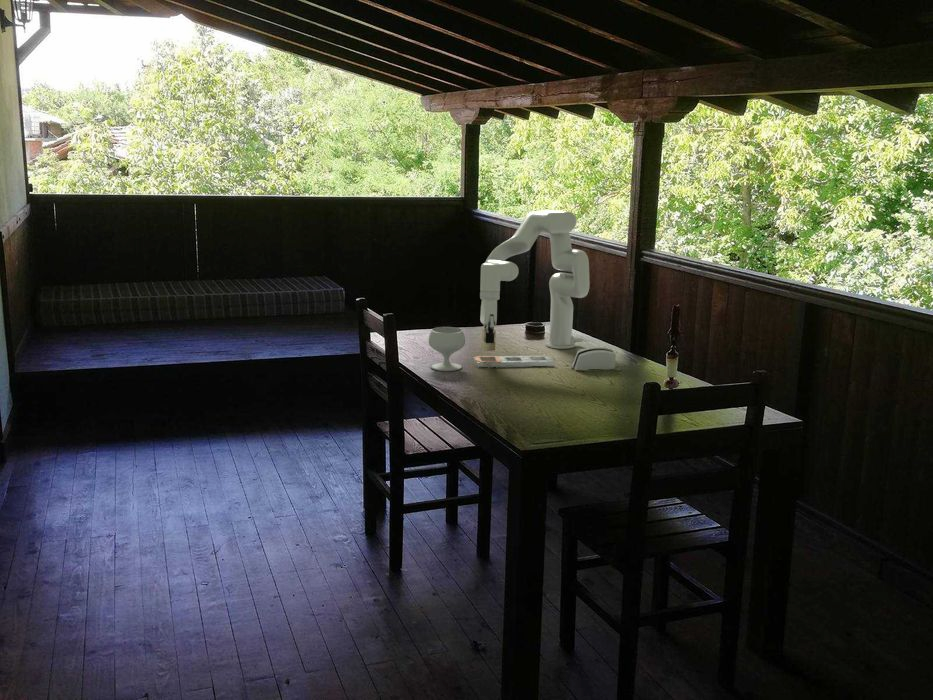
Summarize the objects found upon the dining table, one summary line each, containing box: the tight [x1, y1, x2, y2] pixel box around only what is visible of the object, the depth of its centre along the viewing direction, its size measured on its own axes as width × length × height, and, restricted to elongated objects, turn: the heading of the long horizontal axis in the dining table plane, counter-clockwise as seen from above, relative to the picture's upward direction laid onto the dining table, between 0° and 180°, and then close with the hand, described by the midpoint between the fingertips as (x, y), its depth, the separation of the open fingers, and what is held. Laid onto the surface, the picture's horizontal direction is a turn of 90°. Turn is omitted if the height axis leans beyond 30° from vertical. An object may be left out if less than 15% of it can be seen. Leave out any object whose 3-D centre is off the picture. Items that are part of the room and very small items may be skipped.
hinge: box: [570, 346, 616, 371], centre depth 339 cm, size 17×5×10 cm, turn 105°
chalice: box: [428, 326, 466, 372], centre depth 335 cm, size 14×14×15 cm
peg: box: [481, 327, 497, 352], centre depth 341 cm, size 4×4×8 cm
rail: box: [473, 354, 555, 369], centre depth 345 cm, size 30×10×2 cm, turn 99°
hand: (488, 341), depth 341 cm, fingers closed on peg, 4 cm apart
